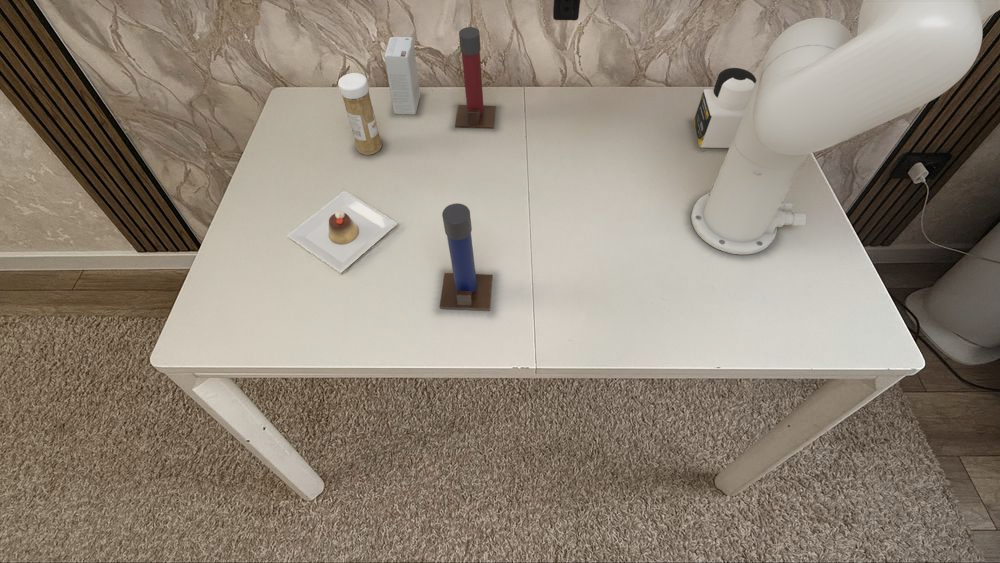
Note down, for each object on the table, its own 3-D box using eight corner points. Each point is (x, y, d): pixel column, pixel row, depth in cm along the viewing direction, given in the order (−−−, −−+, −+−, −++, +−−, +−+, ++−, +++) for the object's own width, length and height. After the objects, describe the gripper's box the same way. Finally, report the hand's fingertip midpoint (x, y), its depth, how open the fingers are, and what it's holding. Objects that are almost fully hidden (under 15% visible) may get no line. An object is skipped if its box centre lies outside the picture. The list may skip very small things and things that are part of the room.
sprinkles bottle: (386, 149, 97) (371, 82, 86) (363, 159, 96) (344, 92, 85) (375, 135, 100) (359, 68, 89) (352, 145, 98) (332, 77, 87)
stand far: (495, 107, 104) (495, 93, 101) (493, 128, 100) (493, 114, 98) (458, 106, 104) (457, 92, 102) (455, 127, 101) (453, 113, 98)
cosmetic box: (398, 94, 106) (387, 35, 97) (422, 95, 106) (413, 35, 96) (393, 115, 103) (381, 55, 93) (417, 116, 103) (408, 56, 93)
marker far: (485, 105, 102) (480, 26, 90) (483, 116, 100) (478, 38, 88) (467, 105, 102) (459, 26, 90) (465, 116, 100) (457, 38, 88)
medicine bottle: (692, 122, 101) (712, 62, 91) (732, 122, 101) (756, 62, 91) (699, 148, 97) (720, 88, 87) (740, 149, 96) (766, 89, 87)
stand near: (492, 276, 81) (492, 263, 78) (489, 311, 78) (489, 298, 75) (444, 274, 81) (442, 261, 79) (439, 309, 78) (437, 296, 75)
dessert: (342, 277, 81) (334, 257, 77) (288, 239, 86) (277, 218, 82) (399, 227, 87) (394, 206, 83) (345, 194, 91) (338, 173, 87)
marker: (478, 277, 79) (471, 203, 67) (476, 296, 77) (468, 224, 65) (455, 276, 79) (443, 202, 67) (453, 295, 77) (440, 223, 65)
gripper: (623, -130, 52) (597, 50, 67) (613, -182, 61) (592, -12, 76) (542, -131, 52) (534, 49, 67) (544, -182, 61) (537, -13, 76)
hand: (565, 16), depth 72 cm, fingers closed
